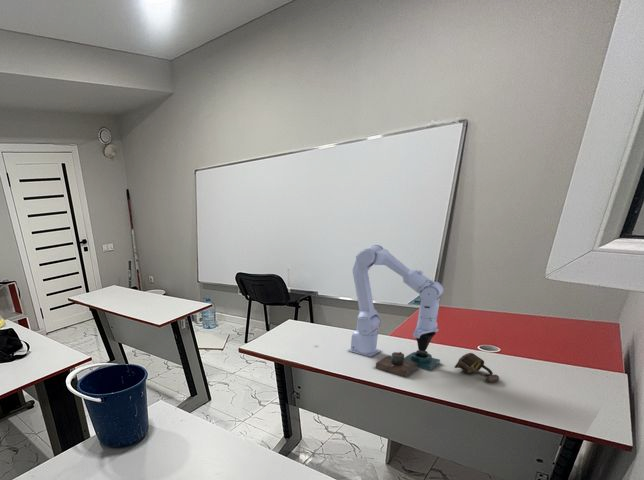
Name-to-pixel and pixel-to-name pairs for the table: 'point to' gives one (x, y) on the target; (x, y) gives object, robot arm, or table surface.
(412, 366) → the dial panel
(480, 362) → the mechanical counter
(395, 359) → the dial knob
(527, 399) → the table surface
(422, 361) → the button box
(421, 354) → the button
